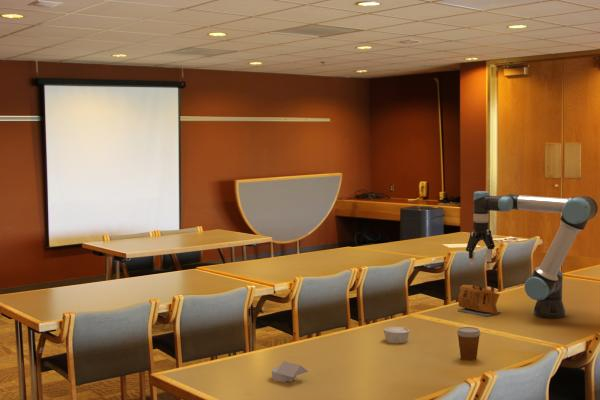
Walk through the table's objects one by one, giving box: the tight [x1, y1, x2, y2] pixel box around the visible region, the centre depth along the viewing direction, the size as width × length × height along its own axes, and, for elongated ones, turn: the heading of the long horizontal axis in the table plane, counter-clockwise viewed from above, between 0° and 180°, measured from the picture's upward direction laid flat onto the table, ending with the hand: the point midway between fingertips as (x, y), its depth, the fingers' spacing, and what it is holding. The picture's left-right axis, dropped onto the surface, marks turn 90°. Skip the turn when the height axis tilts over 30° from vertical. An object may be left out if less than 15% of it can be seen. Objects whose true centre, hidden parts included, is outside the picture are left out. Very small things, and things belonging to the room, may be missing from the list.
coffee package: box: [457, 284, 501, 315], centre depth 396 cm, size 10×12×22 cm
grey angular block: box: [271, 360, 309, 383], centre depth 290 cm, size 9×7×13 cm
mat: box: [457, 308, 502, 318], centre depth 395 cm, size 18×12×1 cm, turn 41°
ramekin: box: [383, 326, 410, 345], centre depth 342 cm, size 11×11×5 cm
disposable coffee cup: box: [456, 326, 482, 362], centre depth 314 cm, size 10×10×12 cm
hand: (480, 263), depth 394 cm, fingers open, 13 cm apart
